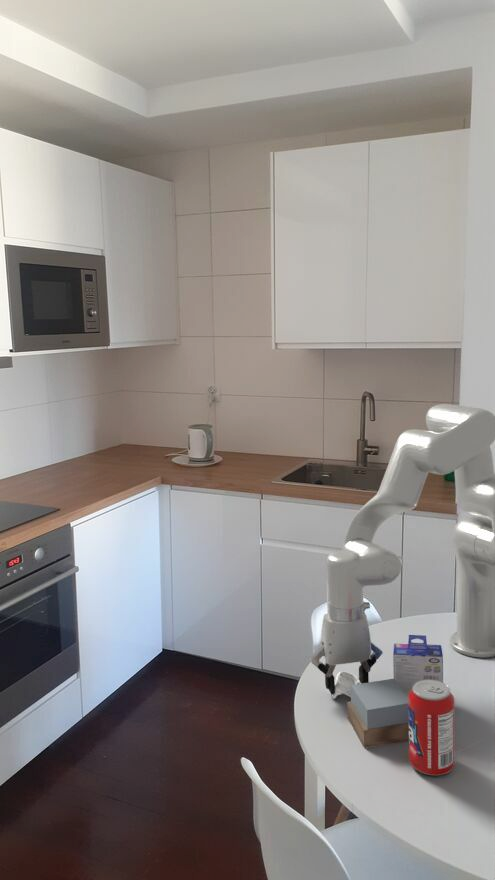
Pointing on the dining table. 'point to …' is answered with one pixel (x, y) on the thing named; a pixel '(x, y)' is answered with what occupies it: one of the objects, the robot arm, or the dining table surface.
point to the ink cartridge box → (417, 663)
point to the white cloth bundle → (344, 683)
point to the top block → (380, 703)
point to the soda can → (431, 727)
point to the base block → (377, 731)
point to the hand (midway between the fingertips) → (347, 688)
